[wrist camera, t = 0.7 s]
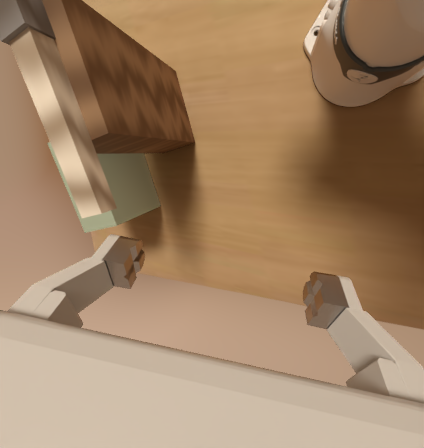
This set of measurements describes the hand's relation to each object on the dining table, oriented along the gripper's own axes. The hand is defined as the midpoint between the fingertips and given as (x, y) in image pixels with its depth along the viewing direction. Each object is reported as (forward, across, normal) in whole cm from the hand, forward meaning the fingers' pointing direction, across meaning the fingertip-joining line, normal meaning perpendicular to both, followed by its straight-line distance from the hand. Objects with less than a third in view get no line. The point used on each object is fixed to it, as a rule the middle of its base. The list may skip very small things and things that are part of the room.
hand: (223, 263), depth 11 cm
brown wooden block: (+42, +17, +5) cm, 46 cm away
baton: (+17, +19, 0) cm, 25 cm away
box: (+39, +25, +19) cm, 49 cm away
